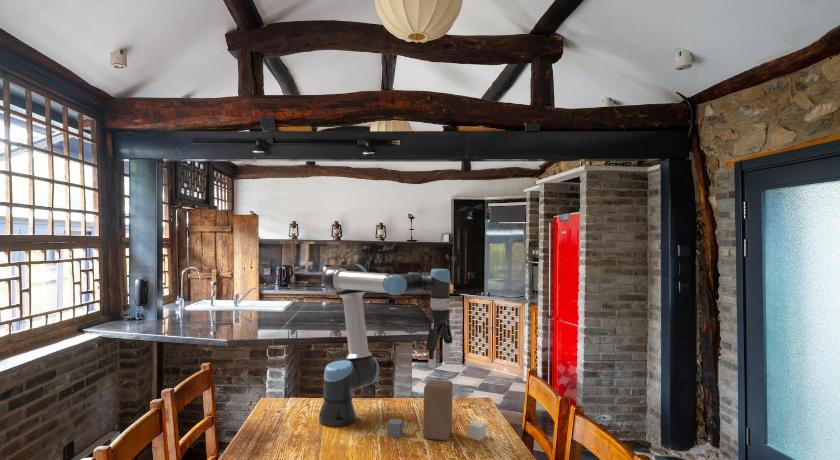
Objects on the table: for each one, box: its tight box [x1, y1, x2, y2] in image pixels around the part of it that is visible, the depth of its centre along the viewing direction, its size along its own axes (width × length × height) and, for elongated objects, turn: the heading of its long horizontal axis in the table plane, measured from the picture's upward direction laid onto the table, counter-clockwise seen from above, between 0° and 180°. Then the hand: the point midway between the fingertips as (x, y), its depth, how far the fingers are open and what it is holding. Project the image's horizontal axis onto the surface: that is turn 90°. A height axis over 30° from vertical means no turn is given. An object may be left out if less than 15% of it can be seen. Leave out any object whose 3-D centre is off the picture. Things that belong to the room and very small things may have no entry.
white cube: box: [467, 420, 487, 442], centre depth 187 cm, size 5×5×5 cm
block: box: [422, 379, 454, 441], centre depth 188 cm, size 10×10×20 cm
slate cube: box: [386, 418, 404, 438], centre depth 188 cm, size 5×5×5 cm
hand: (439, 363), depth 188 cm, fingers open, 13 cm apart
